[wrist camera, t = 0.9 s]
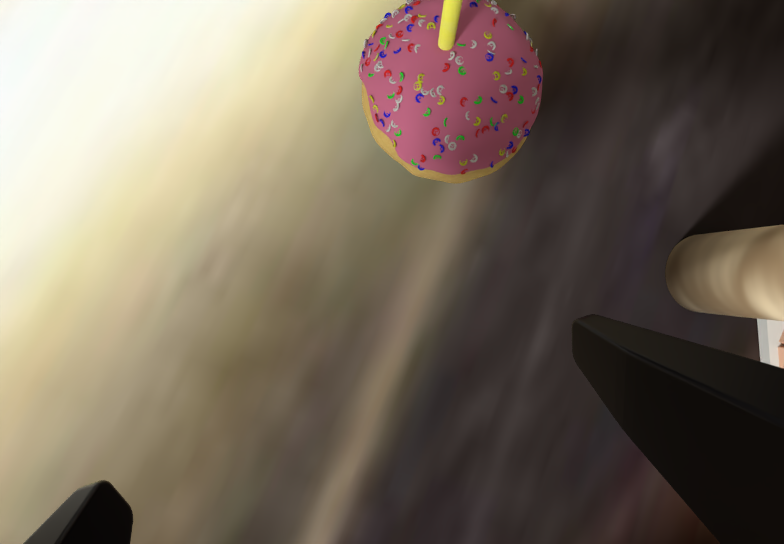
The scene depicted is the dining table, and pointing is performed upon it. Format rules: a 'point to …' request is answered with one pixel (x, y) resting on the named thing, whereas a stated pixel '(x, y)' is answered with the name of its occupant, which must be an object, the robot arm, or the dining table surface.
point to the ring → (771, 342)
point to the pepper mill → (730, 273)
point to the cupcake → (450, 87)
